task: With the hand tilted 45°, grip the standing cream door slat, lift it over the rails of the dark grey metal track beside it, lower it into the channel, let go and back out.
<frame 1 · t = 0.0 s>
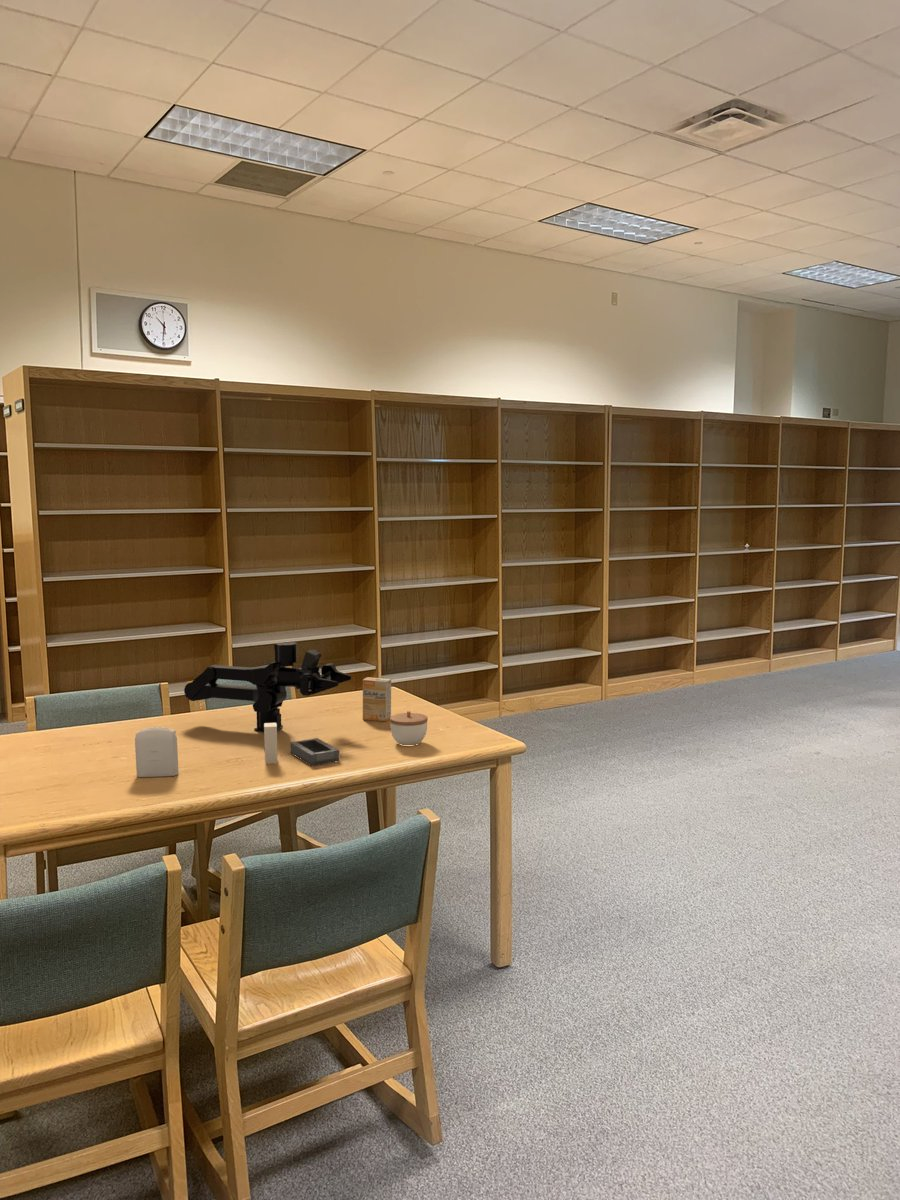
hand: (344, 680, 254), 17 cm above the table, tool horizontal, fingers open, 9 cm apart
door slat: (271, 761, 231), on the table
supplement box: (377, 719, 275), on the table
lidded jar: (408, 744, 248), on the table
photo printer: (157, 776, 219), on the table
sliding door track: (314, 756, 235), on the table
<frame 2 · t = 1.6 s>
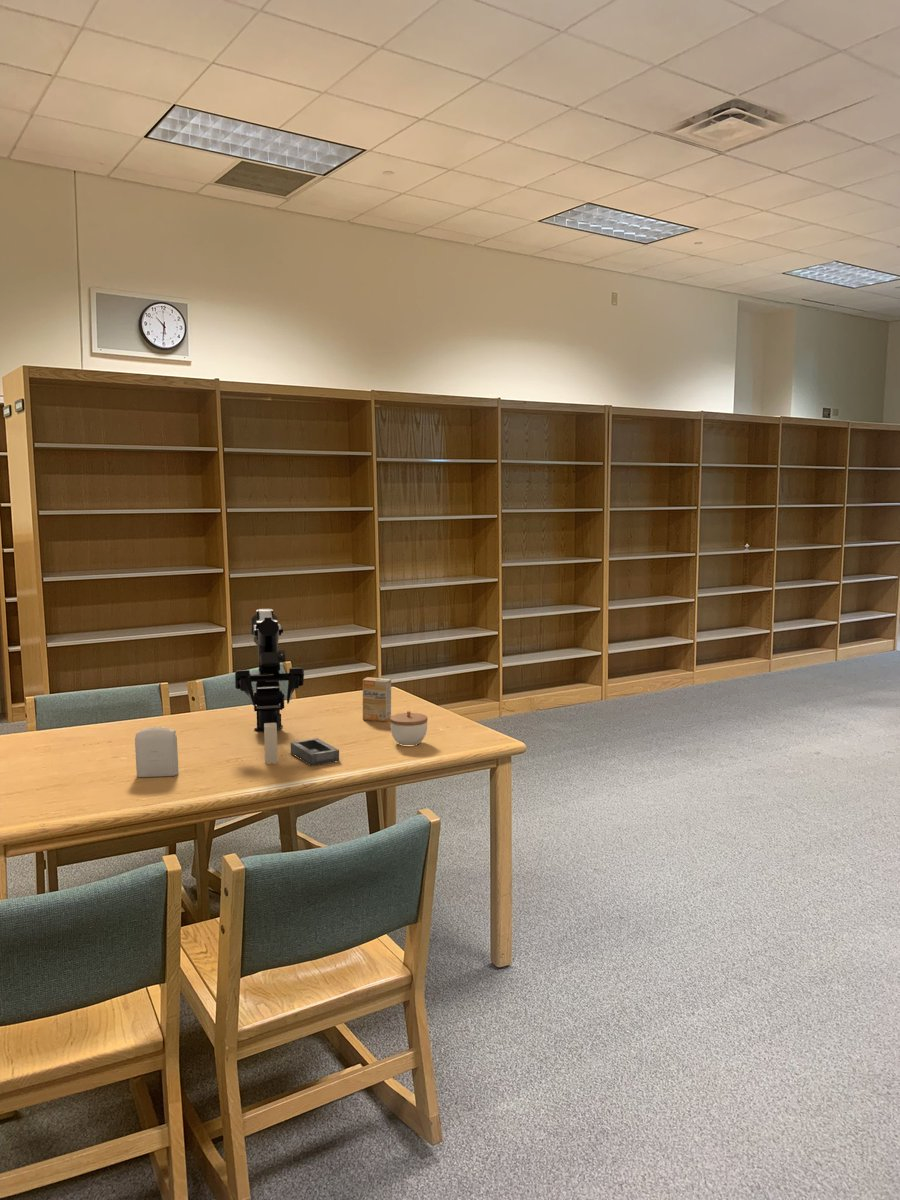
hand: (270, 703, 237), 14 cm above the table, tool tilted 45°, fingers open, 9 cm apart
nothing on the table moved.
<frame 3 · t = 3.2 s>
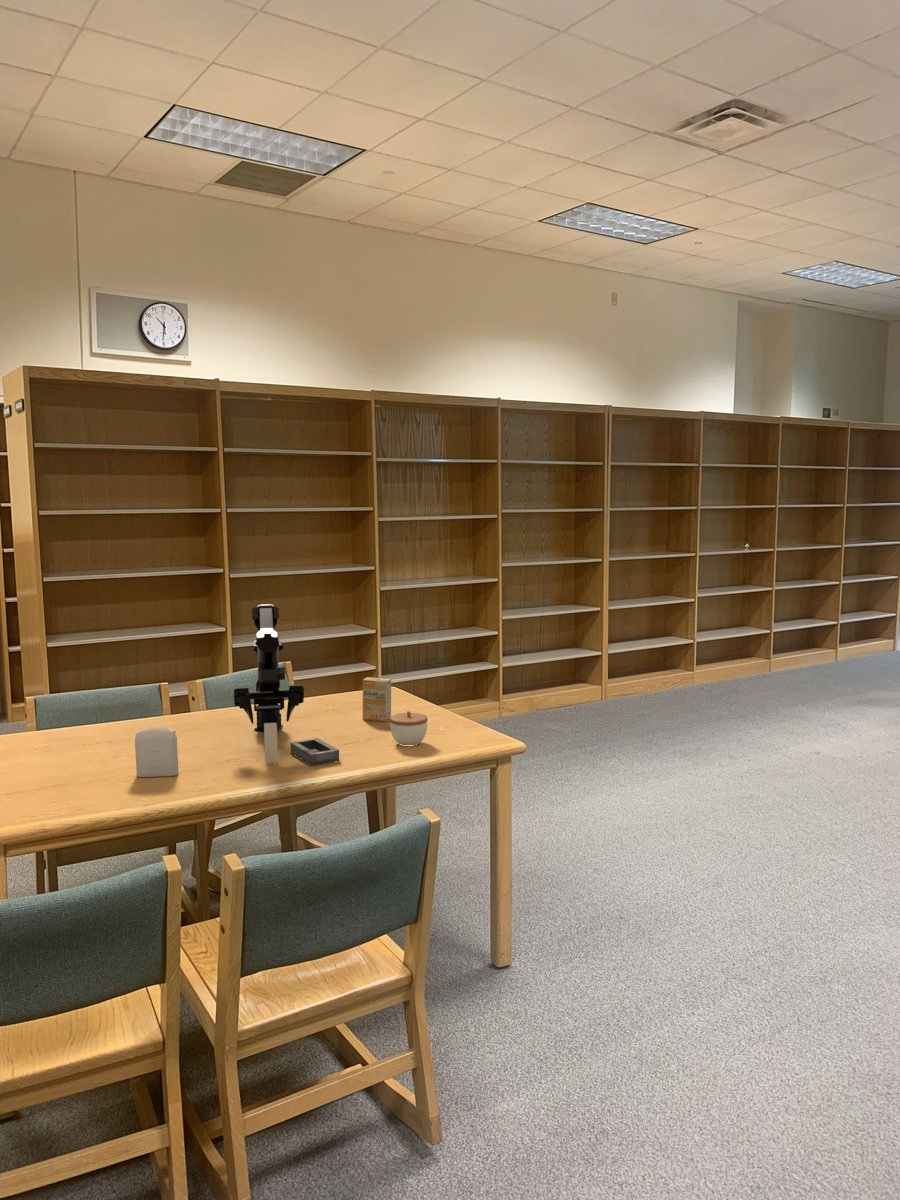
hand: (270, 722, 232), 10 cm above the table, tool tilted 45°, fingers open, 9 cm apart
nothing on the table moved.
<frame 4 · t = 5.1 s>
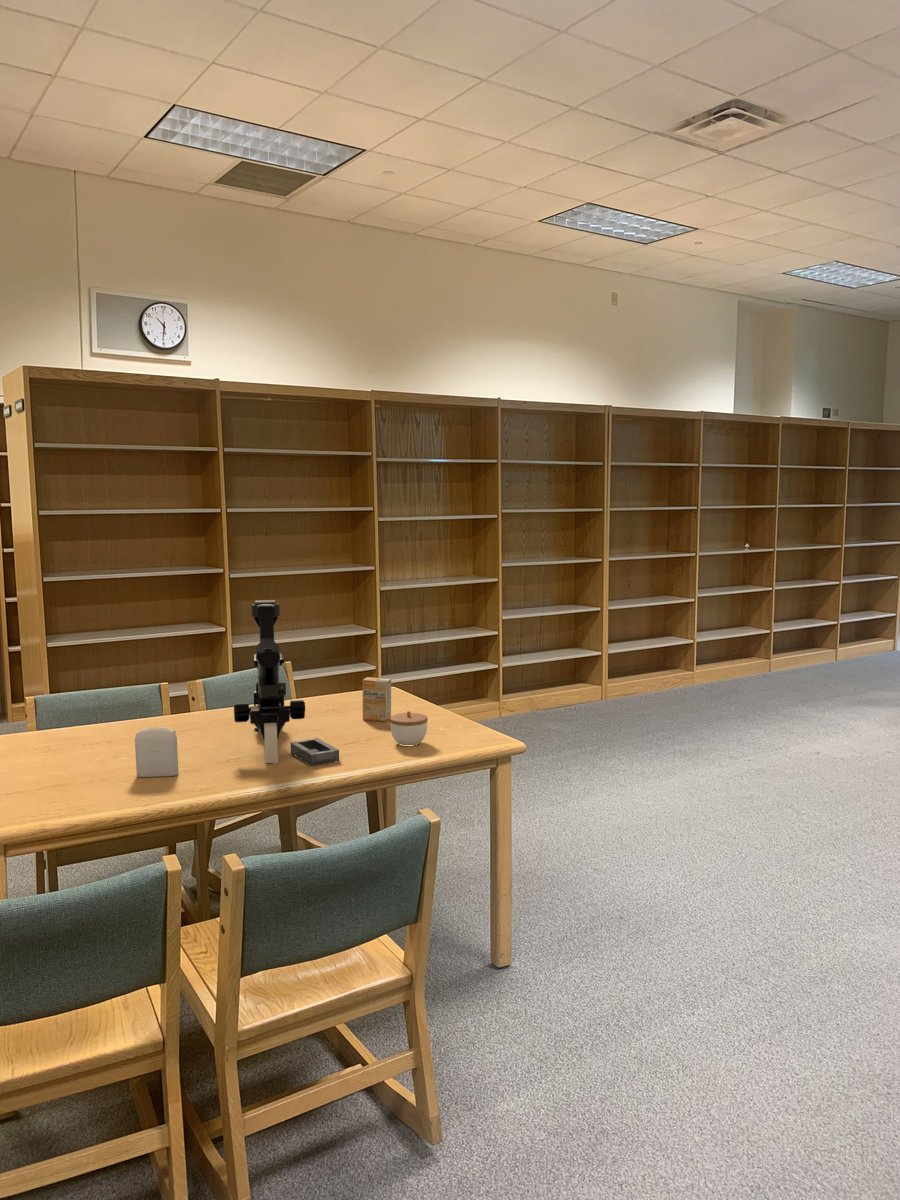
hand: (270, 738, 229), 7 cm above the table, tool tilted 45°, fingers closed on door slat, 3 cm apart
door slat: (271, 761, 231), on the table, touching gripper
everything else where it was.
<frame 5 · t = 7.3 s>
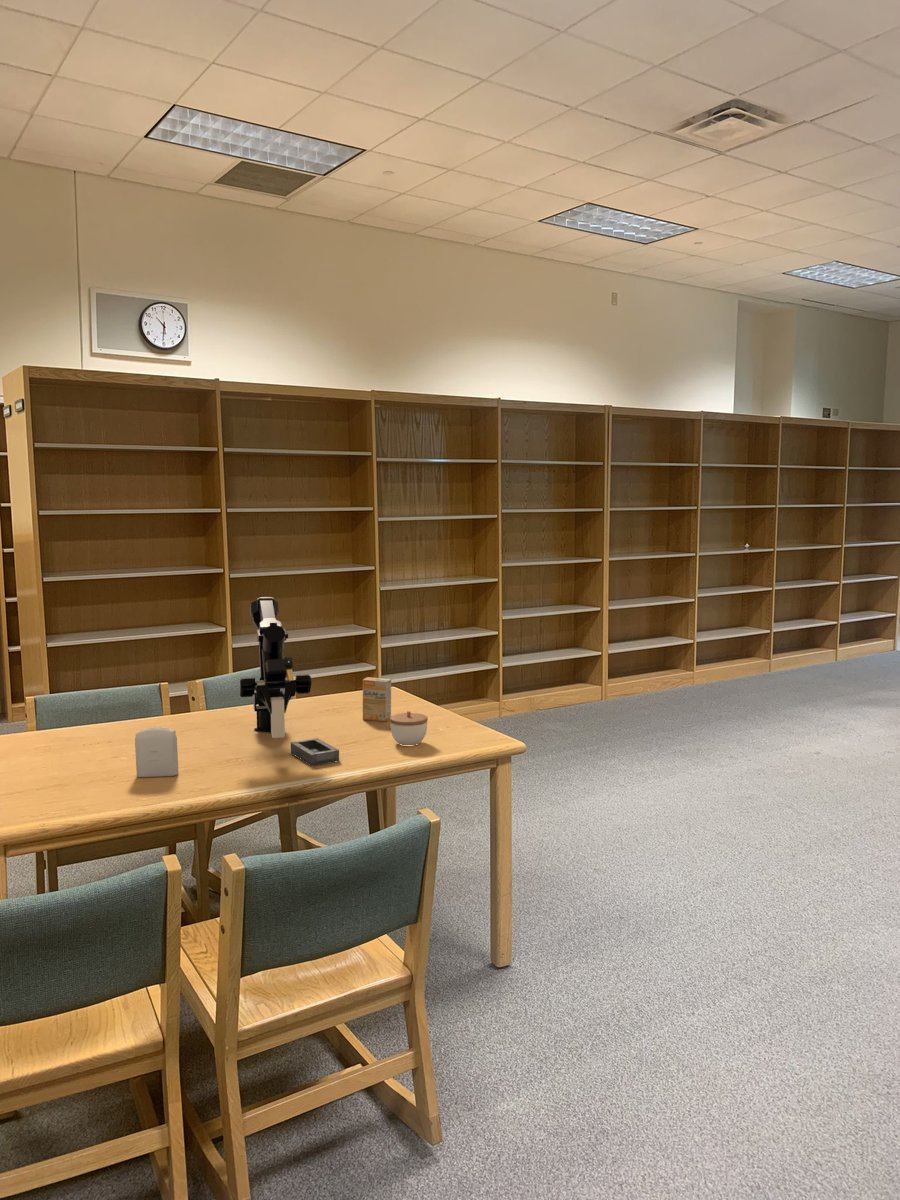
hand: (278, 712, 228), 14 cm above the table, tool tilted 45°, fingers closed on door slat, 3 cm apart
door slat: (278, 735, 230), point 7 cm above the table, touching gripper
everything else where it was.
when the fingers open (9 cm above the table, at t = 10.0 s): door slat stays where it is, resting on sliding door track.
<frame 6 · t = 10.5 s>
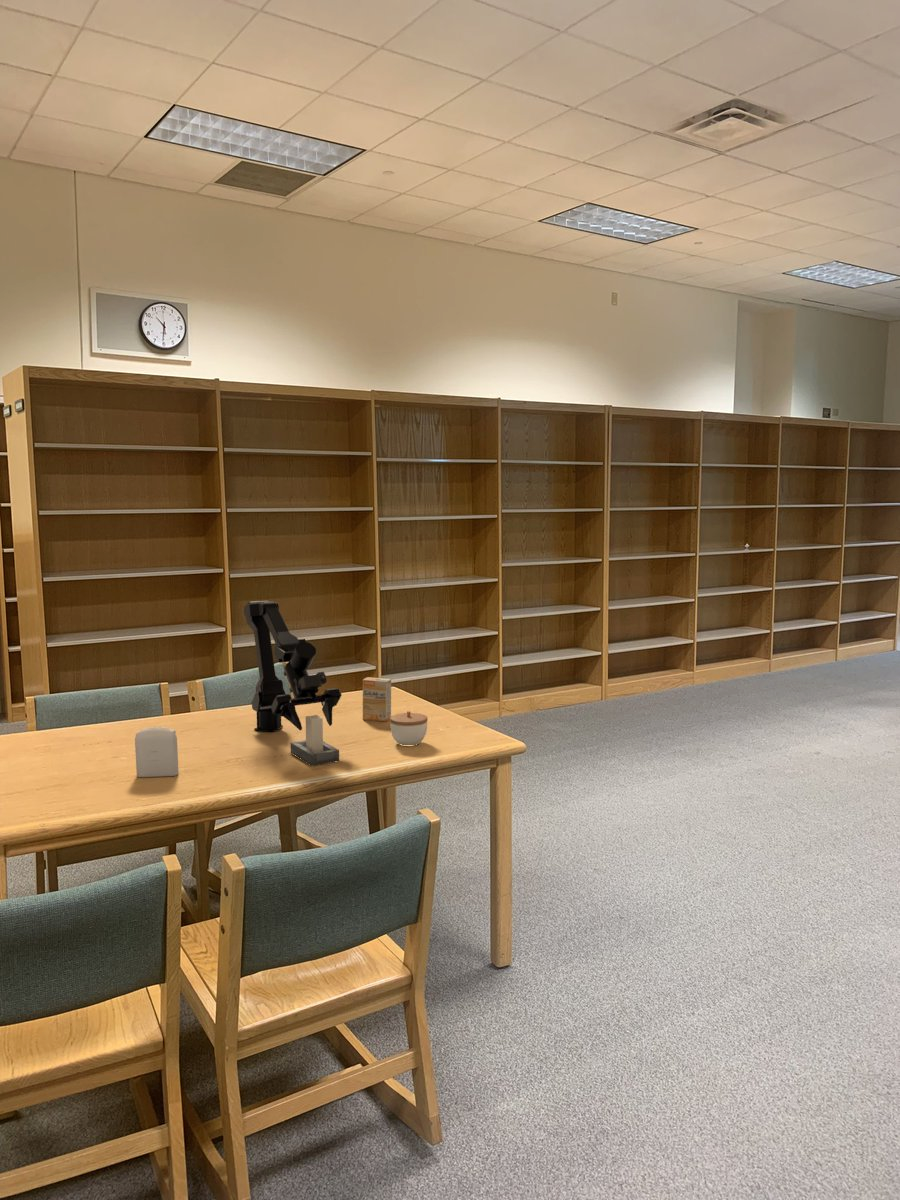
hand: (316, 727, 233), 9 cm above the table, tool tilted 45°, fingers open, 8 cm apart
door slat: (314, 753, 235), point 1 cm above the table, touching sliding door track
everything else where it was.
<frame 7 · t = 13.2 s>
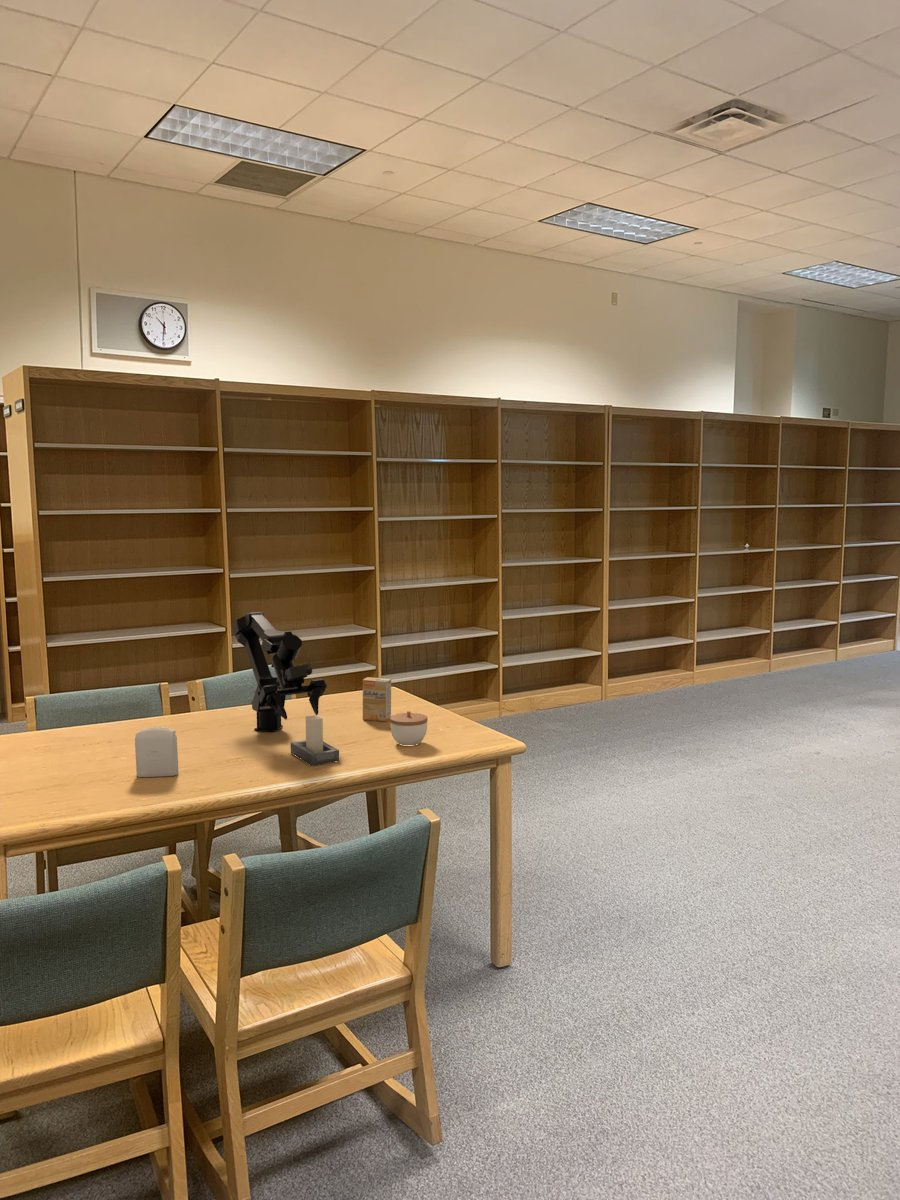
hand: (301, 716, 240), 9 cm above the table, tool tilted 45°, fingers open, 9 cm apart
nothing on the table moved.
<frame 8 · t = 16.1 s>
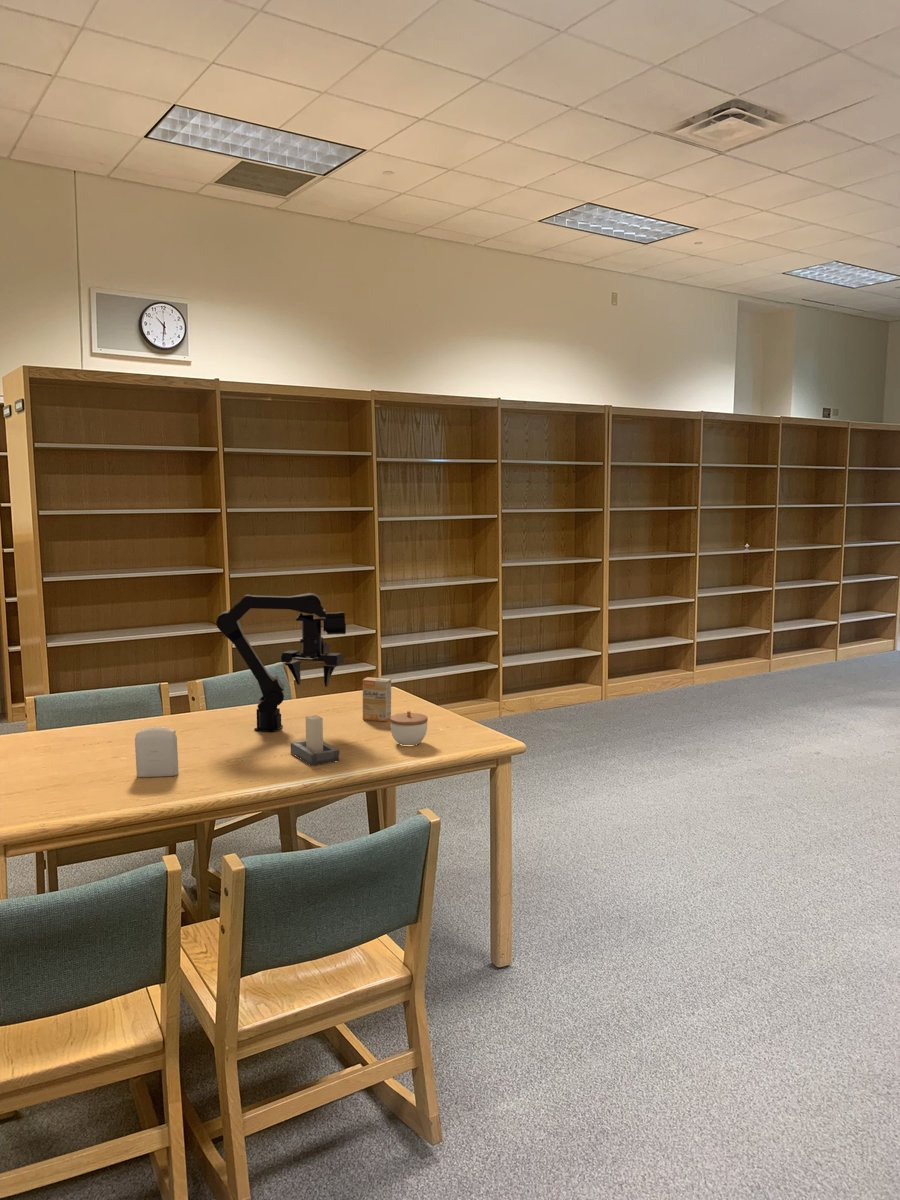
hand: (312, 685, 264), 13 cm above the table, tool pointing down, fingers open, 9 cm apart
nothing on the table moved.
at the end: door slat inside the target area on the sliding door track (0.1 cm from its centre), point 1.0 cm above the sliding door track's base; door slat tilted 0°; the gripper is holding nothing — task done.
